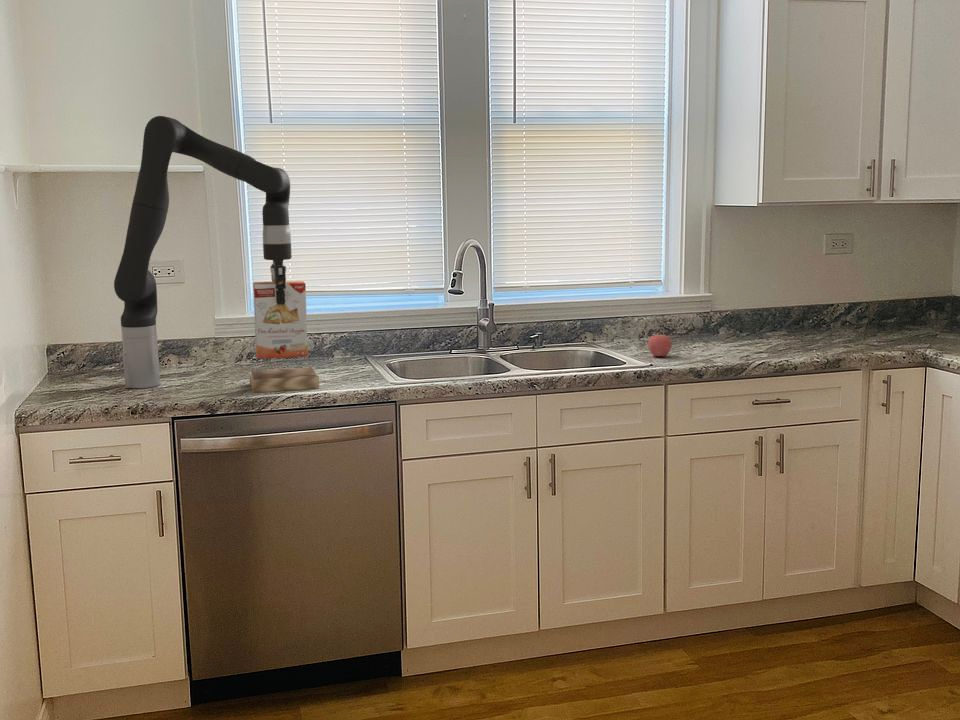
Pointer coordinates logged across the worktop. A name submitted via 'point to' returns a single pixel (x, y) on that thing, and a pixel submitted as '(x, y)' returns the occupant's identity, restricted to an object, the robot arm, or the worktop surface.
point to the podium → (284, 379)
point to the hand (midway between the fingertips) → (279, 302)
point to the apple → (659, 345)
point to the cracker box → (280, 321)
